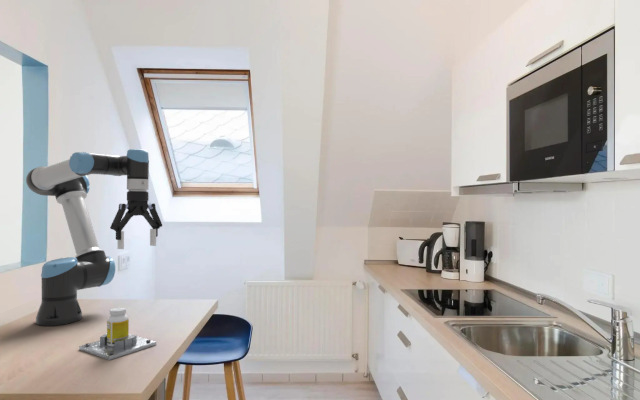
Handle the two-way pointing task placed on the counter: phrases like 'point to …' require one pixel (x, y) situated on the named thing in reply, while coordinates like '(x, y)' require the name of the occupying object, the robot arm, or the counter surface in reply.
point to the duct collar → (117, 346)
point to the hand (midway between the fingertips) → (137, 247)
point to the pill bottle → (117, 325)
